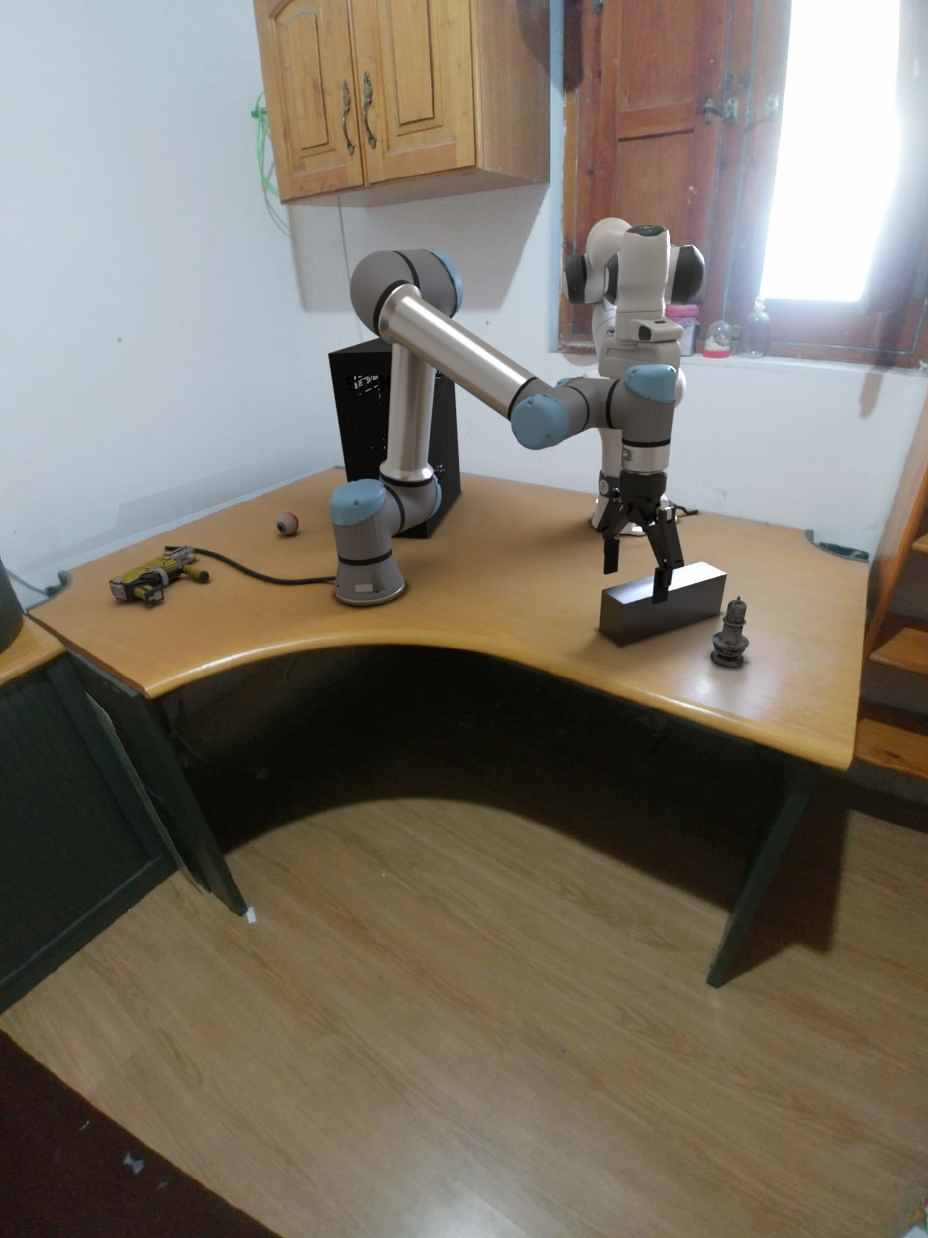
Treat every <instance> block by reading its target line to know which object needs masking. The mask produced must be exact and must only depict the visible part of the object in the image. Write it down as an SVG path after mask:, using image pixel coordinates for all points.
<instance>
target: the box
mask: <svg viewBox="0 0 928 1238" xmlns="http://www.w3.org/2000/svg"><path fill="white" fill-rule="evenodd" d="M654 575H655V574H652V575H649V576H646V577H642V578H639V579H634V580H631V581H627V582H624V583H621V584H620V583H619V584H617V585H613V586H610V587H606V588H603V589H601V594H600V595H601V596H600V607H599V608H600V611H599V623H598V624H599V625H598V630H599V631H600V633H602V634H603V635H605V636H606V637H607V638H608V639H610V640H611V641H613V642H614V643H615V644H616V645H618V646H619V647H621V646H625V645H627V644H631V643H634V642H637V641H640V640H643V639H646V638H649V637H652V636H656V635H659V634H661V633H665V632H668V631H670V630H674V629H677V628H680V627H683V626H686V625H689V624H692V623H695V622H699V621H702V620H705V619H708V618H711V617H714V616H717V615H720V613H721V608H722V603H723V599H724V593H725V587H726V582H727V577H728V573H727V572H725V571H723V570H721V569H719V568H717V567H714V566H713V565H710V564H709V563H706V562H704V561H699V562H695V563H692V564H687V565H684V567H681V568H678V569H675V570H673V575H672V584H671V586H669V590H668V599H667V601H664V602H661V603H658V604H653V603H652V594H653V584H654Z"/></svg>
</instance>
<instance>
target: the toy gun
mask: <svg viewBox="0 0 928 1238" xmlns="http://www.w3.org/2000/svg"><path fill="white" fill-rule="evenodd" d="M179 547H180V548H177V549H176V550H170V552H168V553H163V554H161V555H159V556H157V557H155V558H153V559H151V560H149V561H147V562H145V563H142V564H139V565H138V566H136V567H133V568H132V569H129V570H128V571H125V572H123V573H121V574H119V575H117V576H115V577H113V578H111V579H110V580H108V583H109V587H110V591H111V594H112V597H113V598H115V600H117V601H118V600H119V601H120V602H121V601H122V602H123V601H125V600H126V601H131V600H135V599H143V600H144V601H145V605H146V607H150V606H153V605H155V604H157V603H159V602H162V601H164V600H165V596H164V591H163V590H164V589H163V588H164V587H166V586H168V585H169V581H171V580H173V579H175V578H178V577H181V575H182V574H184V575H185V576H189V577H191V578H194V579H196V580H199V581H200V582H202V583H205V582H207V581H209V580H210V573H209V572H208V571H207V570H202V569H200V568H198V567H195V566H192V565H191V564H190V563H192V562H193V561H196V560H197V556H196V552H195V550H194V548H195V547H194V546H192V545H189V546H188V545H187V544H184V545H182V546H179ZM186 547H187V548H186ZM193 551H194V552H193ZM191 553H193V556H190V554H191Z"/></svg>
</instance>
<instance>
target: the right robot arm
mask: <svg viewBox="0 0 928 1238" xmlns="http://www.w3.org/2000/svg"><path fill="white" fill-rule="evenodd" d="M585 248H586V249H585V250H586V251H585V253H581V254H580V252H579V251H578V252H577V253H576V254H575V256H574V258H572V259H571V260H569V261H568V262H567V264H566V265H565V267H564V269H563V274H562V279H561V280H562V281H561V285H562V286H561V287H562V291H563V294H564V296H565V297H566V299H567V302H568V303H569V304H570V305H572V306H585V304H593V303H598V304H597V305H596V306H595V308H594V310H593V312H592V316H591V317H592V319H591V331H592V333H591V334H592V339H593V345H594V348H595V352H596V357H597V361H598V363H597V368H596V369H592V370H589V371H586V372H584V373H583V374H582V375H581V376H580V377H584V378H599V379H624V378H625V377H626V371H627V370H628V369H629V368H630V367H632V366H637V365H652V364H661V365H669V366H671V367H673V368H674V369H675V370H676V374H677V378H676V401H675V408H674V410H675V409H676V408H678V406H680V404H681V403H682V401H683V400H684V398H685V394H686V392H687V381H686V380H687V379H686V377H685V374H684V372H683V370H682V369H681V368H680V367H681V366H680V365H681V357H682V356H681V355H682V350H681V348H682V347H681V344H680V342H679V341H678V340H681V339H682V337H683V334H684V328H683V326H682V325H680V324H679V323H677V322H675V321H673V320H672V319H670V318H669V317H668V316H666V305H667V306H668V305H671V306H685V305H687V304H688V303H689V302H691V301H692V299H694V298H695V296H696V295H697V294H698V293H699V292H700V291H701V289H702V287H703V283H704V279H705V272H706V265H705V260H704V257H703V255H702V254H701V252H700V250H698V248H696V246H695V245H694V244H686V245H680V246H676V245H674V244H672V243H670V232H669V229H668V228H666V227H665V226H662V225H657V224H656V225H653V224H644V225H643V224H642V225H636V226H632V225H630V223H628V222H627V221H626V220H624V219H621V218H618V217H605V218H602V219H601V220H599V221H597V222H596V223H595V224H594V225H593V226H592V228H591V229H590V231H589V233H588V236H587V238H586V245H585ZM596 429H597V431H598V434H599V436H600V437H599V438H600V441H601V442H600V443H601V468H600V470H599V474H598V492H599V493H598V498H597V499H596V507H595V511H594V514H593V517H592V520H591V525H592V526H593V527H594V528H595V529H597V526H598V524H599V522H600V519H601V517H602V515H603V512H604V510H605V508H606V505H607V503H608V501H609V494H610V490H611V489H616V488H619V473H620V471H621V469H623V468H622V467H621V466H620V461H621V448H622V430H621V429H606V428H596ZM660 501H661V506H662V507H666V508H668V507H672V506H673V507H674V508H675V523H677V522H678V516H677V515H676V513H677V510H681V511H682V512H683V513H684V514H685V515H694V514H696V513H699V509H693V510H687V509H686V507H684V506H682V505H678V504H676V503H675V502H673V501H672V500H670V499H669V498H668V497H667V496H666V495H665V493H664V494H663V495H662V497H661V499H660ZM622 507H623V505H622ZM622 507H621V509H622ZM621 509H620V510H621ZM653 524H655V522H654V521H653V523H652V524H650V525H653ZM620 534H623V535H625V534H626V535H632V536H633V535H634V536H645V535H646V533H644V532H643V531H642V529H641V527H639V526H637V525H636V524H635V523H630V522H629V523H628V524H627V525H626V526H625V527H624V528H623V530H622V531H621V532H620V533H619V535H620Z"/></svg>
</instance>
